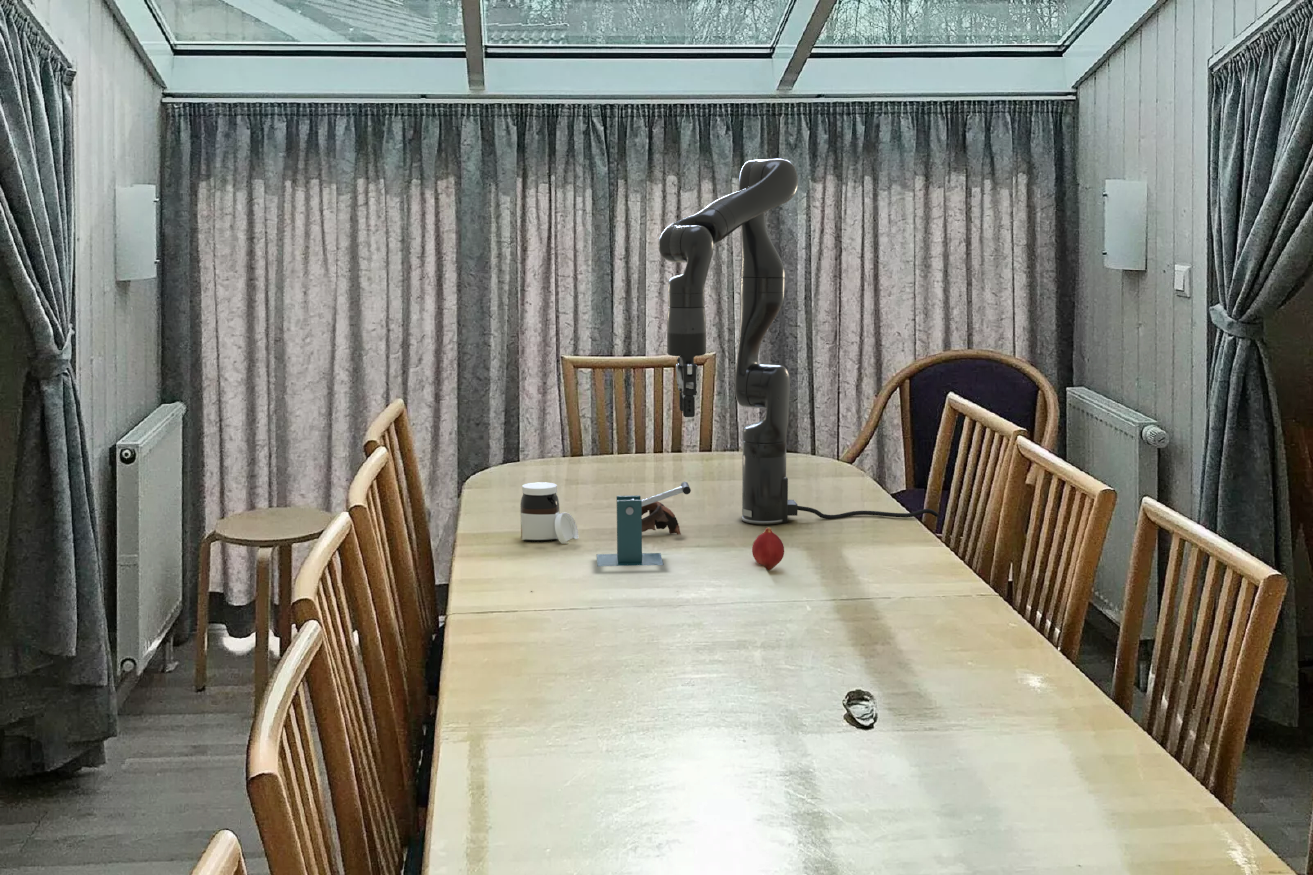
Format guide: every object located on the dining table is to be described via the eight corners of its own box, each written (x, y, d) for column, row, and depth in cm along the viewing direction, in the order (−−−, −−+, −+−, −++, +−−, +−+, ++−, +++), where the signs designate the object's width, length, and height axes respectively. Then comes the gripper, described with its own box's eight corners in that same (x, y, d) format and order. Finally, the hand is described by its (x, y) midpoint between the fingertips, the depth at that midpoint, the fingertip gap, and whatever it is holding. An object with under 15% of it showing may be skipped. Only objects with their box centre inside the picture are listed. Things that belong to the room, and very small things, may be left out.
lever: (690, 490, 256) (686, 478, 256) (692, 495, 251) (688, 483, 251) (623, 513, 256) (619, 501, 256) (624, 519, 251) (620, 506, 251)
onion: (749, 566, 254) (750, 524, 253) (780, 565, 255) (781, 523, 253) (754, 574, 248) (754, 531, 247) (786, 573, 249) (786, 530, 248)
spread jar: (521, 538, 278) (520, 481, 277) (577, 536, 279) (577, 480, 277) (520, 551, 267) (519, 492, 265) (579, 550, 267) (578, 491, 266)
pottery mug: (683, 545, 273) (664, 511, 271) (642, 563, 276) (621, 530, 273) (686, 517, 284) (667, 485, 282) (646, 535, 287) (627, 503, 284)
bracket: (660, 559, 260) (660, 492, 258) (663, 571, 251) (663, 502, 249) (596, 561, 259) (595, 493, 257) (597, 572, 250) (596, 503, 248)
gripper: (709, 333, 259) (709, 418, 262) (702, 327, 273) (702, 408, 276) (669, 333, 259) (670, 419, 261) (664, 327, 273) (665, 409, 275)
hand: (687, 413), depth 268 cm, fingers open, 8 cm apart
